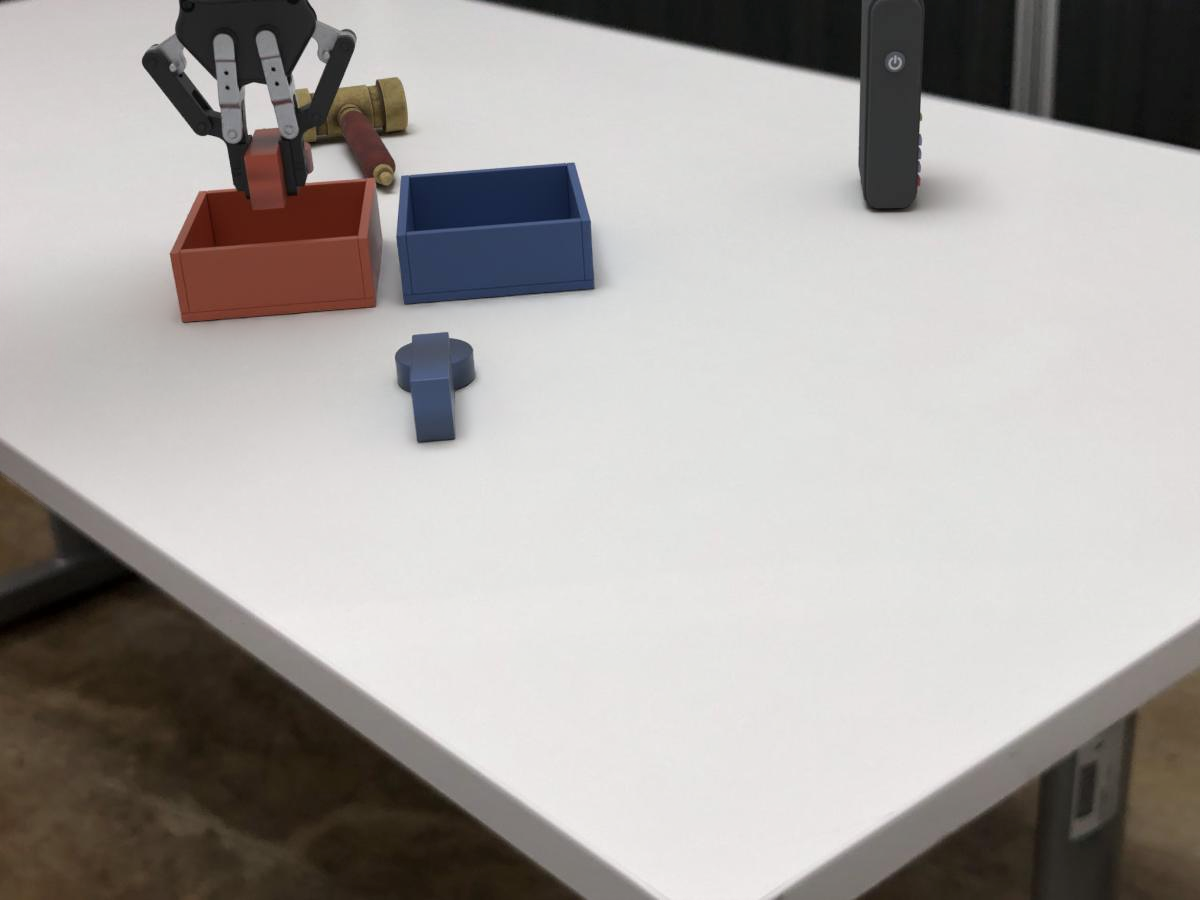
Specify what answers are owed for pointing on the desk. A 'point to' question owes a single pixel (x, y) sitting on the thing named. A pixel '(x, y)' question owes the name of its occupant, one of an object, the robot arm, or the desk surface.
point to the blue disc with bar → (434, 380)
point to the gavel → (364, 122)
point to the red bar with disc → (268, 170)
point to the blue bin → (493, 233)
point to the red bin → (279, 252)
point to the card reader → (890, 101)
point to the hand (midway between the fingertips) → (273, 193)
